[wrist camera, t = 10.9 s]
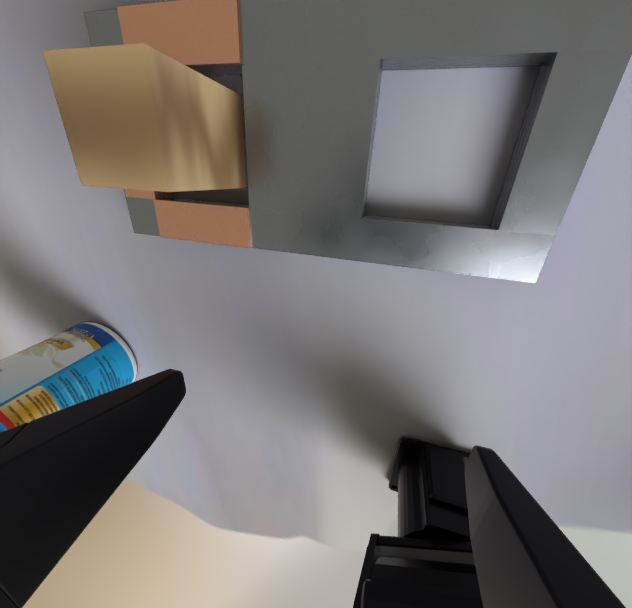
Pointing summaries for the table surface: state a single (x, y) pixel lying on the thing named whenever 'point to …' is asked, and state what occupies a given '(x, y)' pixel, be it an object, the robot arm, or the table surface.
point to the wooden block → (147, 120)
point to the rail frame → (360, 118)
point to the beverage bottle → (63, 373)
